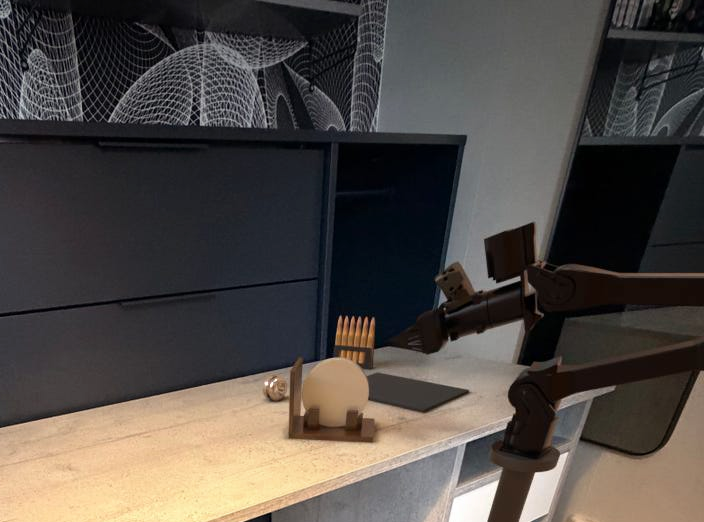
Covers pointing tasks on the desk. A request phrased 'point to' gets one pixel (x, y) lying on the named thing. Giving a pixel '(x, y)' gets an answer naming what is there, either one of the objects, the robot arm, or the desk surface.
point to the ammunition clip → (355, 342)
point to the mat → (410, 392)
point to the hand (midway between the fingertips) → (397, 338)
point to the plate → (335, 390)
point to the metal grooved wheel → (274, 388)
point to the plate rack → (309, 423)
